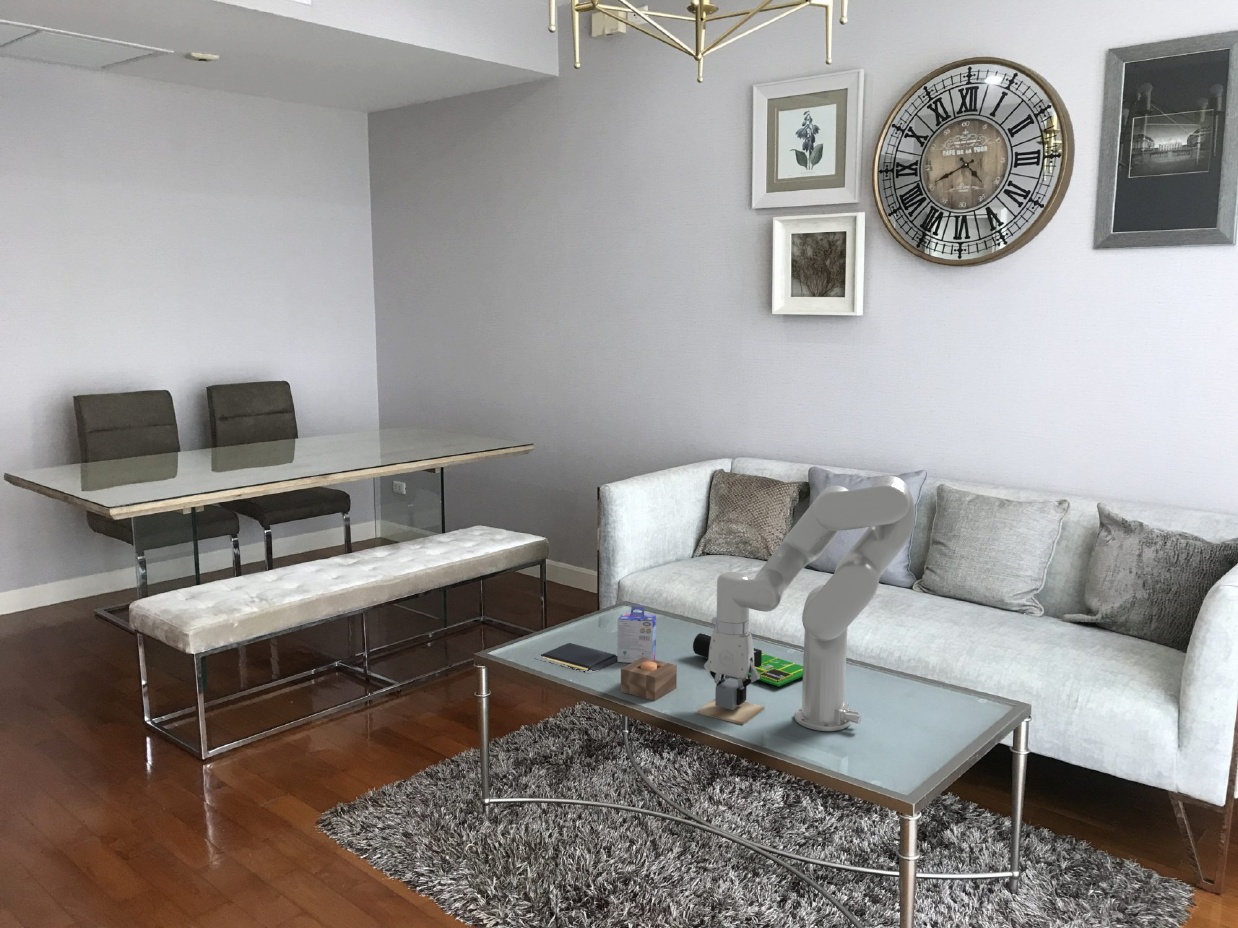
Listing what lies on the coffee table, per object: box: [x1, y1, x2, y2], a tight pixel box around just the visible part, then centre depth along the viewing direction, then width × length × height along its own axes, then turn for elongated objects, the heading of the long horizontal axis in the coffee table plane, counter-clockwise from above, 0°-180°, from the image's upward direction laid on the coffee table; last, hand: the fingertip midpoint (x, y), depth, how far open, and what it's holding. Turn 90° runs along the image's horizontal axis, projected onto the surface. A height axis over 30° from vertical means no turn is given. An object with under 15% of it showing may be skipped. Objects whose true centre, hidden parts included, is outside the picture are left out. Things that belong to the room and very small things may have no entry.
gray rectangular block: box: [714, 677, 748, 710], centre depth 230 cm, size 7×4×4 cm, turn 145°
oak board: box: [696, 698, 765, 726], centre depth 231 cm, size 12×11×1 cm
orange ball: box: [641, 662, 657, 672], centre depth 243 cm, size 4×4×4 cm
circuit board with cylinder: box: [692, 632, 803, 687], centre depth 258 cm, size 30×7×15 cm
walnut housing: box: [620, 657, 678, 702], centre depth 243 cm, size 10×10×6 cm
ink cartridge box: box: [616, 606, 657, 664], centre depth 263 cm, size 10×6×14 cm, turn 79°
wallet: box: [540, 642, 618, 672], centre depth 266 cm, size 20×2×15 cm
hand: (731, 700), depth 230 cm, fingers closed on gray rectangular block, 4 cm apart
